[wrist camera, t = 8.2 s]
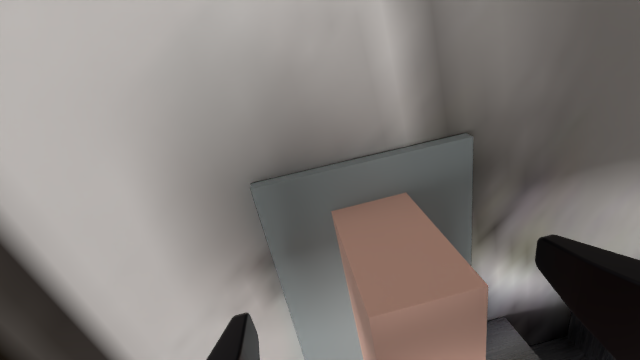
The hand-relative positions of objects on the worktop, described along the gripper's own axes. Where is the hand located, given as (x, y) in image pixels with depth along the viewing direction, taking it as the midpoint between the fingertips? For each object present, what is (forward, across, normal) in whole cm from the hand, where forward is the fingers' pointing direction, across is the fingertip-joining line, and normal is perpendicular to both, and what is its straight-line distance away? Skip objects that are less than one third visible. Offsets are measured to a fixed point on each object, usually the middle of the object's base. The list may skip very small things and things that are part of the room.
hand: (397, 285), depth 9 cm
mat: (+2, 0, +4) cm, 4 cm away
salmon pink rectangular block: (+2, 0, +3) cm, 4 cm away
